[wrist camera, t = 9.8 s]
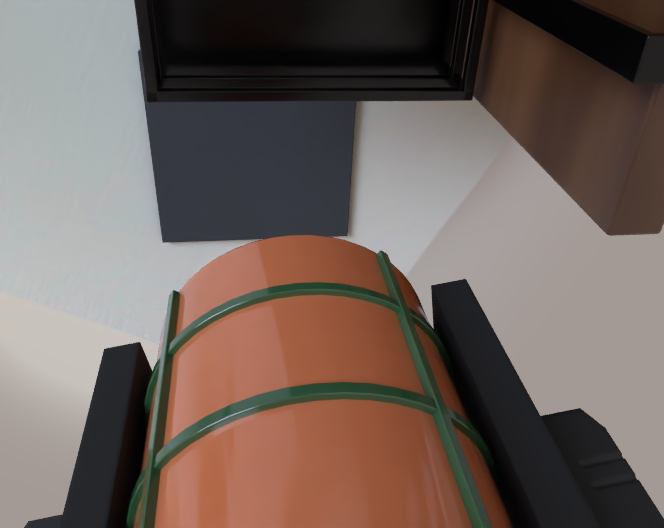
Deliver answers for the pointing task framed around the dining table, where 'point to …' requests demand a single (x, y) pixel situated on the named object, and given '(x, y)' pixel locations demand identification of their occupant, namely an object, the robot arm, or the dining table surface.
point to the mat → (251, 168)
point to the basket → (358, 47)
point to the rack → (579, 115)
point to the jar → (307, 401)
